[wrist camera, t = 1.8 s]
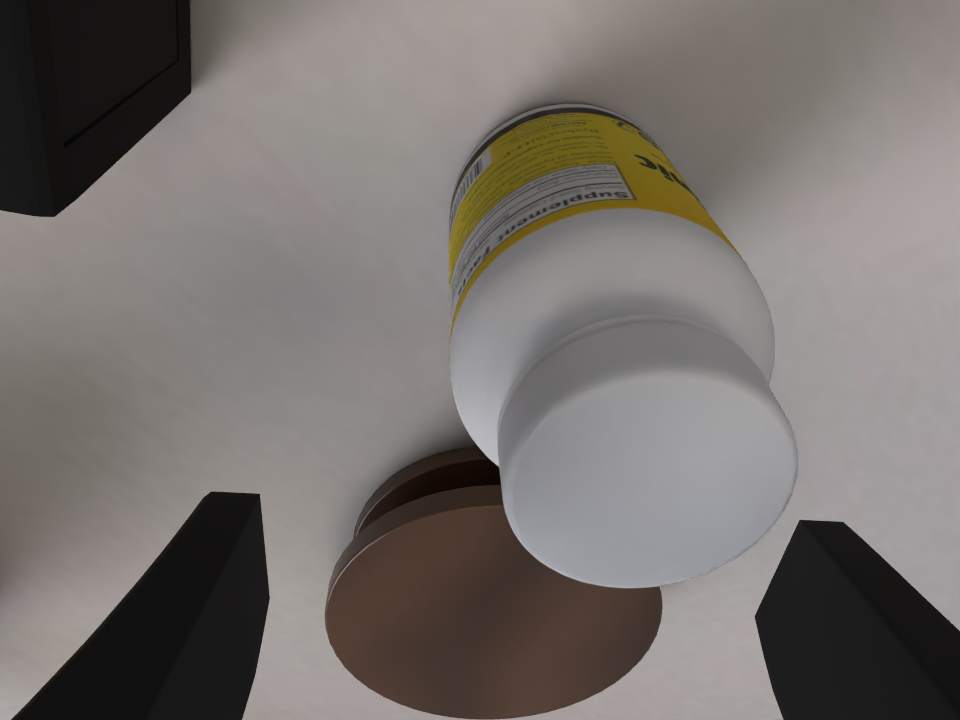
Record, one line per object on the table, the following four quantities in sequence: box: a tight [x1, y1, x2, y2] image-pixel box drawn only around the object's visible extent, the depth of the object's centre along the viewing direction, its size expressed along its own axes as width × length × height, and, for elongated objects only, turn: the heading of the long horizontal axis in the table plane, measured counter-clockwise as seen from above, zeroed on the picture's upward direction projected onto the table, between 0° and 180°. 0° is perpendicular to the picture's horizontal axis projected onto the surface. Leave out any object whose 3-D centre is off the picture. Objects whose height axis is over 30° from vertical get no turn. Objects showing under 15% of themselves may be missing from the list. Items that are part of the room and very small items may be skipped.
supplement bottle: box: [449, 104, 798, 588], centre depth 14 cm, size 5×5×10 cm
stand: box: [325, 447, 662, 719], centre depth 24 cm, size 10×10×3 cm
